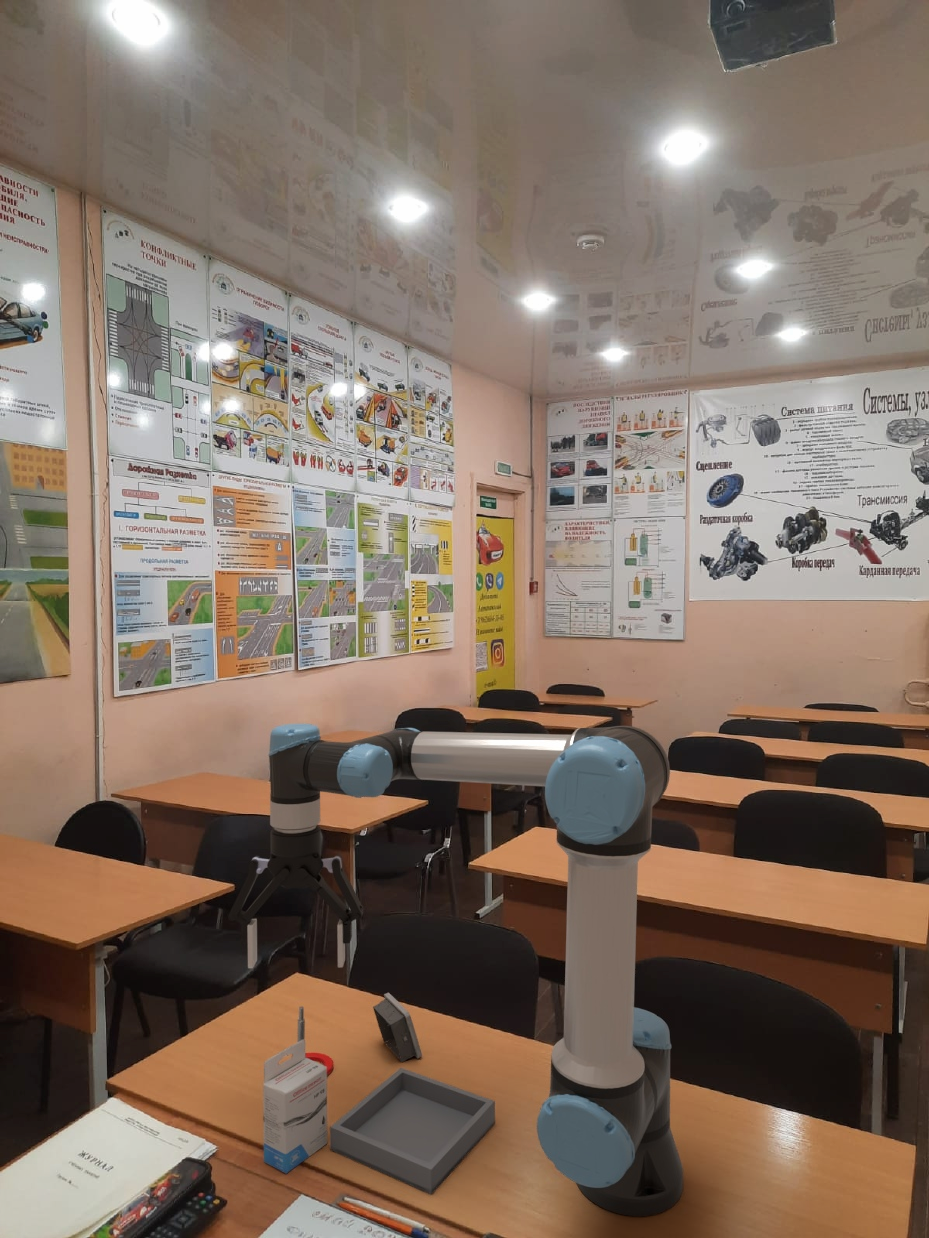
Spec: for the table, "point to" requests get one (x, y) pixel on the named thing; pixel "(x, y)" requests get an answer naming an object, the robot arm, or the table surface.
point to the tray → (413, 1129)
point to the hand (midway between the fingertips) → (297, 964)
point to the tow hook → (312, 1056)
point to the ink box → (293, 1108)
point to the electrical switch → (397, 1028)
